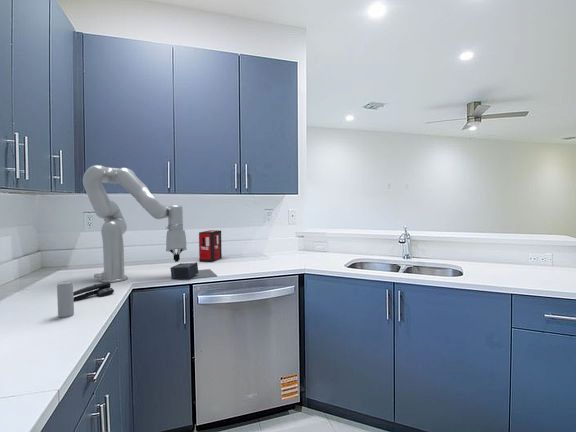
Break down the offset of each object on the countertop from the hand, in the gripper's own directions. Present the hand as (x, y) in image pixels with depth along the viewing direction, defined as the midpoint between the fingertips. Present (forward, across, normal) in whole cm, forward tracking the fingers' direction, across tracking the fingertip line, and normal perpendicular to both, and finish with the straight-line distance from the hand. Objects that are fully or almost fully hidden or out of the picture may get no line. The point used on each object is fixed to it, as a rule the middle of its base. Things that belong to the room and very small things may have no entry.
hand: (176, 261), depth 184 cm
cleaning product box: (+9, +27, +43) cm, 52 cm away
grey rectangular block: (+8, -44, -49) cm, 66 cm away
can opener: (+8, -38, -26) cm, 47 cm away
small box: (+5, -1, -1) cm, 5 cm away
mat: (+8, +11, 0) cm, 14 cm away
